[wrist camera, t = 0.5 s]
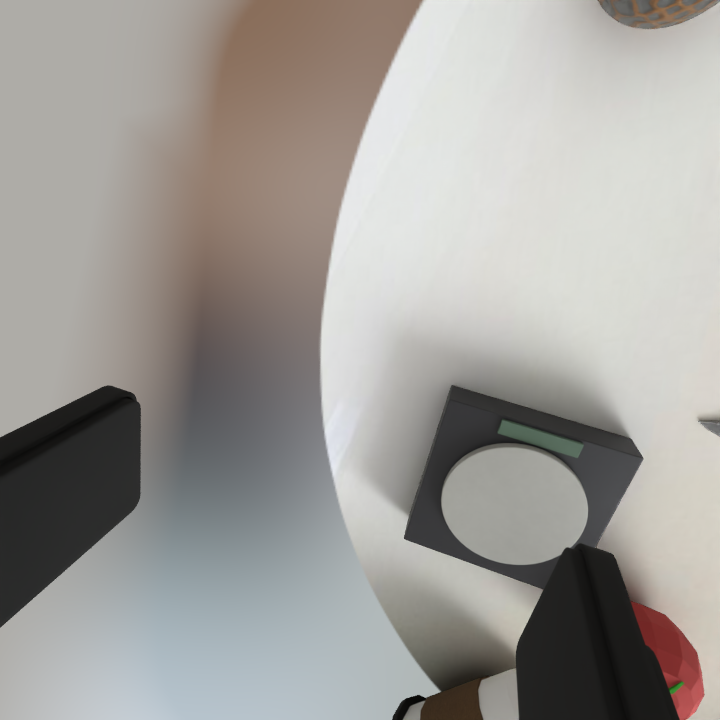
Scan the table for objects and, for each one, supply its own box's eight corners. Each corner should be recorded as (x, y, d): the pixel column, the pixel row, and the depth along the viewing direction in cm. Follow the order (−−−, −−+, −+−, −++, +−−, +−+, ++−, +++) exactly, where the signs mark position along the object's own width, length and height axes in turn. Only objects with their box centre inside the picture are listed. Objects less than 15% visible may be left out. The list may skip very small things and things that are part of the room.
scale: (451, 384, 31) (448, 402, 28) (631, 438, 29) (647, 463, 26) (408, 517, 36) (402, 545, 33) (562, 571, 34) (569, 605, 31)
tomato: (589, 667, 36) (615, 779, 29) (542, 593, 35) (557, 692, 28) (698, 645, 33) (756, 765, 26) (650, 564, 32) (697, 667, 25)
